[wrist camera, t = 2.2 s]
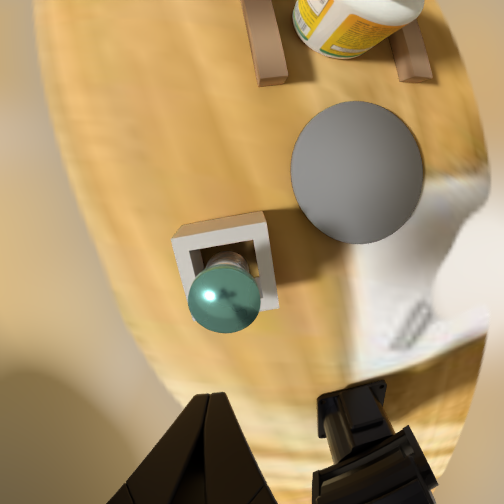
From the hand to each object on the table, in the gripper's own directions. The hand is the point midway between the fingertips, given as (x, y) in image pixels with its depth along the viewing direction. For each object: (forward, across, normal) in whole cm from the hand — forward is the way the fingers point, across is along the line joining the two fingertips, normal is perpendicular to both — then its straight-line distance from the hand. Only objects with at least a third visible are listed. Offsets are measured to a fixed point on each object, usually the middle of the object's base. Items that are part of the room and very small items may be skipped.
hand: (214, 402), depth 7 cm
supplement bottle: (+12, -9, -14) cm, 21 cm away
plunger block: (+12, 0, 0) cm, 12 cm away
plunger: (+9, 0, 0) cm, 9 cm away
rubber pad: (+12, -9, -4) cm, 16 cm away
